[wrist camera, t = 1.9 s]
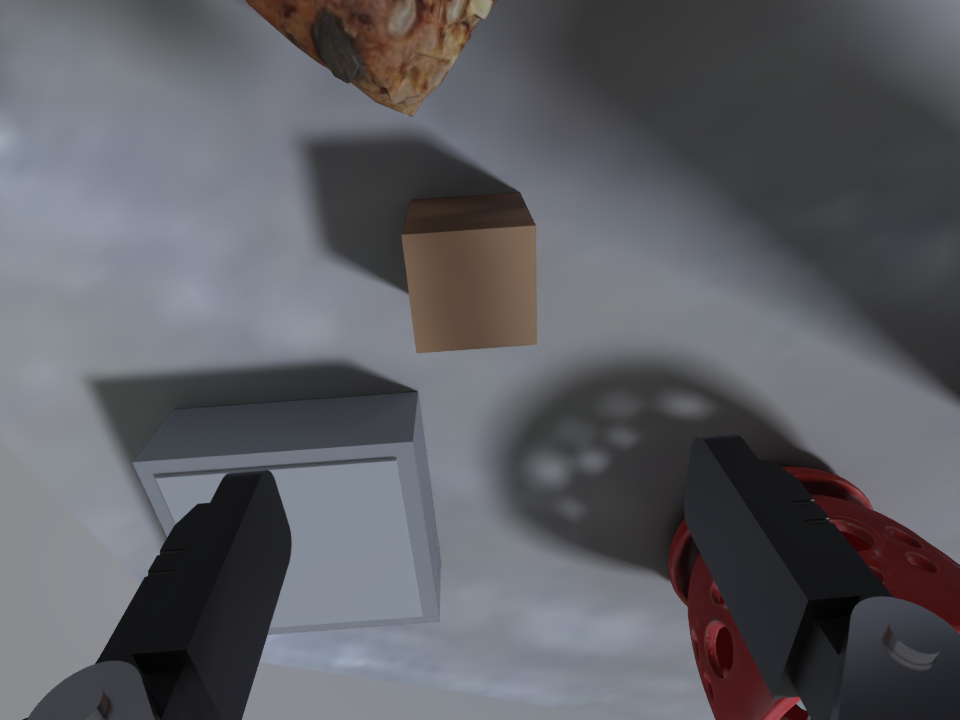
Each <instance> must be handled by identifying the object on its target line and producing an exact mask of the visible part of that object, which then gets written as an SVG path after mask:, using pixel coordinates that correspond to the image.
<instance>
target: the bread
mask: <svg viewBox="0 0 960 720" xmlns="http://www.w3.org/2000/svg"><path fill="white" fill-rule="evenodd" d="M496 1H497V0H246V2H247V3H248V4H249V5H250V6H251V7H252V8H253V9H254V10H256V11H257V12H258V13H259V14H260V15H261V16H262V17H263V18H264V19H266V20H267V21H268V22H269V23H270V24H271V25H272V26H273V27H275V28H276V29H277V30H278V31H279V32H280V33H282V34H283V35H284V36H285V37H286V38H287V39H288V40H290V41H291V42H292V43H293V44H294V45H295V46H297V47H298V48H299V49H300V50H302V51H303V52H305V53H306V54H307V55H309V56H310V57H311V58H313V59H314V60H315V61H317V62H318V63H319V64H321V65H323V66H325V67H326V68H328V69H330V70H331V72H332V73H333V75H334V76H335V77H337V78H339V79H340V80H342V81H344V82H346V83H348V84H349V83H352V84H353V85H355V86H356V87H357V88H358V89H360V90H361V91H362V92H364V93H365V94H366V95H367V96H369V97H370V98H371V99H372V100H374V101H375V102H377V103H379V104H381V105H384V106H386V107H389V108H391V109H393V110H396V111H398V112H401V113H405V114H408V115H409V116H410V117H411V116H414V114H415V113H416V111H417V110H418V108H419V106H420V105H421V103H422V101H423V99H424V98H425V97H427V96H428V95H429V94H430V93H432V91H434V90H435V89H436V88H437V87H438V86H439V85H440V84H441V83H442V81H443V79H444V78H445V76H446V75H447V73H448V71H449V70H450V68H451V66H452V65H453V63H454V62H455V60H456V58H457V57H458V55H459V54H460V52H461V50H462V49H463V47H464V45H465V44H466V42H467V41H468V40H469V39H470V37H471V32H472V31H473V30H474V28H475V27H476V26H477V24H478V23H479V21H480V20H481V19H484V20H485V18H486V17H487V15H488V14H489V12H490V10H491V9H492V7H493V6H494V4H495V2H496Z"/></svg>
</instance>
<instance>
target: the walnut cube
mask: <svg viewBox="0 0 960 720" xmlns="http://www.w3.org/2000/svg"><path fill="white" fill-rule="evenodd" d="M401 236H402V244H403V252H404V259H405V267H406V275H407V283H408V290H409V298H410V306H411V314H412V321H413V329H414V337H415V344H416V352H417V353H426V352H440V351H454V350H468V349H481V348H495V347H509V346H523V345H537V307H536V225H535V223H534V221H533V219H532V217H531V214H530V212H529V210H528V208H527V206H526V204H525V202H524V200H523V198H522V195H521V193H520V192H518V193H503V194H489V195H474V196H460V197H445V198H431V199H416V200H411V201H410V205H409V209H408V212H407V216H406V220H405V223H404V227H403V231H402V234H401Z"/></svg>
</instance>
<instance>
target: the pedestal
mask: <svg viewBox="0 0 960 720" xmlns="http://www.w3.org/2000/svg"><path fill="white" fill-rule="evenodd" d="M132 463H133V465H134V467H135V469H136V471H137V474H138V476H139V478H140V480H141V482H142V484H143V487H144V489H145V491H146V493H147V495H148V497H149V499H150V502H151V504H152V506H153V508H154V510H155V512H156V515H157V517H158V519H159V521H160V523H161V525H162V527H163V530H164V532H165V534H166V536H167V537H168V536H169V534H170V532H171V530H172V528H173V527H174V525H175V524H176V523H178V522H179V521H180V520H181V519H182V518H183V517H184V516H185V515H186V514H187V513H188V512H189V511H190V510H191V509H192V508H193V507H194V506H196V505H197V504H199V503H210V502H211V500H212V498H213V496H214V494H215V492H216V490H217V488H218V486H219V484H220V482H221V480H222V479H223V477H224V476H225V475H226V474H228V473H238V472H251V471H264V470H269V471H270V472H271V473H272V474H273V476H274V478H275V481H276V484H277V487H278V491H279V494H280V497H281V500H282V504H283V507H284V510H285V513H286V516H287V520H288V523H289V526H290V530H291V538H292V549H291V557H290V562H289V566H288V569H287V572H286V575H285V579H284V582H283V585H282V589H281V592H280V595H279V598H278V602H277V605H276V608H275V612H274V615H273V618H272V621H271V625H270V628H269V631H268V635H271V634H284V633H297V632H310V631H324V630H337V629H350V628H363V627H376V626H390V625H403V624H416V623H429V622H440V581H441V558H440V551H439V543H438V536H437V528H436V521H435V514H434V506H433V499H432V491H431V484H430V476H429V469H428V462H427V454H426V447H425V439H424V432H423V424H422V417H421V410H420V402H419V395H418V392H408V393H394V394H380V395H366V396H353V397H339V398H325V399H311V400H298V401H284V402H270V403H256V404H243V405H229V406H215V407H201V408H188V409H174V410H173V411H172V412H171V413H170V414H169V416H168V417H167V418H166V420H165V421H164V422H163V423H162V425H161V426H160V427H159V429H158V430H157V431H156V432H155V434H154V435H153V436H152V438H151V439H150V440H149V441H148V443H147V444H146V445H145V447H144V448H143V449H142V450H141V452H140V453H139V454H138V456H137V457H136V458H135V459H134V461H133V462H132Z"/></svg>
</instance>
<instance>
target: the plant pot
mask: <svg viewBox="0 0 960 720" xmlns="http://www.w3.org/2000/svg"><path fill="white" fill-rule="evenodd" d="M782 468H783V469H785V470H786V471H788V472H789V473H791V474H792V475H794V476H795V477H797V479H798V480H799V481H800V482H801V484H802V485H803V486H804V487H805V488H806V490H807V491H808V492H809V493H810V495H811V496H812V497H813V498H814V501H815V504H819V506H820V507H821V508H822V509H823V511H824V512H825V513H826V514H827V516H828V517H829V520H830V523H834V524H835V525H836V527H837V528H838V529H839V530H840V532H841V533H842V534H843V535H844V536H845V538H846V539H847V540H848V541H849V543H850V544H851V545H852V546H853V548H854V549H855V550H856V551H857V552H858V554H859V555H860V556H861V557H862V559H863V560H864V561H865V562H866V564H867V565H868V566H869V567H870V568H871V570H872V571H873V572H874V573H875V575H876V576H877V577H878V578H879V580H880V581H881V582H882V583H883V585H884V586H885V587H886V588H887V589H888V591H889V592H890V593H891V594H892V595H893V596H894V598H898V599H902V600H905V601H909V602H912V603H914V604H916V605H919V606H921V607H923V608H925V609H927V610H929V611H931V612H933V613H934V614H936V615H937V616H939V617H940V618H942V619H943V620H945V621H946V622H947V623H948V624H950V625H951V626H952V627H953V628H954V629H955V630H956V631H957V632H958V633H959V634H960V565H959V564H958V563H957V562H955V561H954V560H952V559H951V558H950V557H948V556H947V555H946V554H944V553H943V552H942V551H940V550H938V549H937V548H935V547H934V546H932V545H931V544H930V543H928V542H927V541H925V540H924V539H922V538H921V537H920V536H918V535H917V534H916V533H914V532H913V531H911V530H910V529H908V528H906V527H905V526H903V525H901V524H899V523H898V522H896V521H894V520H892V519H890V518H888V517H886V516H884V515H882V514H880V513H878V512H876V511H874V510H873V508H872V506H871V504H870V502H869V500H868V499H867V498H866V496H865V495H864V494H863V493H862V492H861V491H860V490H859V489H858V488H857V487H856V486H854V485H853V484H851V483H850V482H849V481H847V480H845V479H843V478H842V477H840V476H837V475H835V474H832V473H829V472H826V471H822V470H818V469H813V468H806V467H782ZM668 570H669V575H670V580H671V583H672V586H673V588H674V590H675V592H676V594H677V595H678V597H679V598H680V599H681V600H682V601H683V603H684V604H685V605H686V606H687V607H688V619H689V627H690V635H691V640H692V646H693V651H694V655H695V660H696V664H697V667H698V671H699V674H700V678H701V681H702V684H703V687H704V690H705V693H706V696H707V698H708V701H709V704H710V707H711V709H712V712H713V714H714V717H715V719H716V720H807V718H808V715H809V713H808V712H807V711H805V710H803V709H801V708H800V707H799V706H798V705H797V704H796V703H797V702H799V701H800V700H801V699H800V697H791V698H780V699H773V697H772V695H771V693H770V691H769V689H768V687H767V685H766V683H765V681H764V679H763V677H762V675H761V673H760V671H759V669H758V667H757V665H756V663H755V661H754V659H753V657H752V655H751V653H750V651H749V649H748V647H747V645H746V643H745V641H744V639H743V637H742V635H741V633H740V631H739V629H738V627H737V625H736V623H735V621H734V619H733V617H732V615H731V613H730V611H729V609H728V607H727V606H726V604H725V602H724V600H723V598H722V596H721V594H720V592H719V590H718V588H717V586H716V584H715V582H714V580H713V578H712V576H711V574H710V572H709V570H708V568H707V566H706V564H705V562H704V560H703V558H702V556H701V554H700V552H699V550H698V548H697V546H696V544H695V542H694V540H693V538H692V536H691V534H690V531H689V529H688V526H687V523H686V520H685V518H684V519H683V521H682V522H681V523H680V525H679V527H678V528H677V530H676V532H675V534H674V537H673V540H672V543H671V546H670V550H669V558H668ZM724 676H725V677H724Z"/></svg>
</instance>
